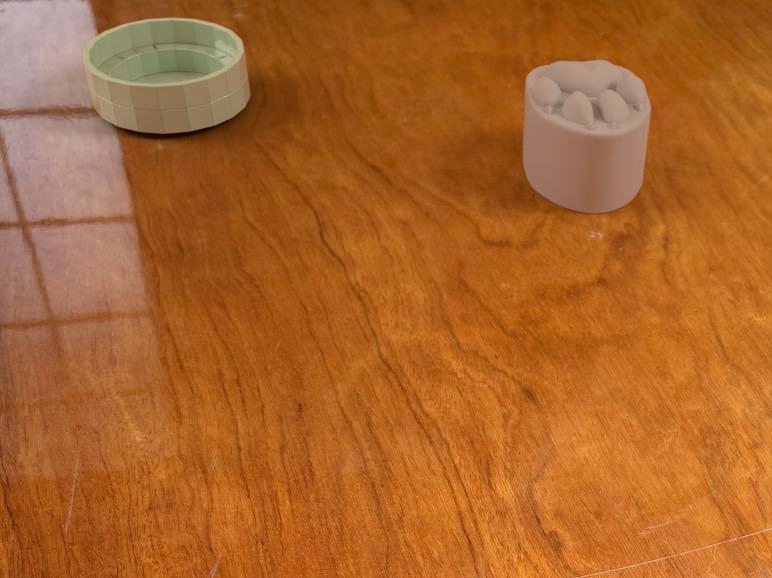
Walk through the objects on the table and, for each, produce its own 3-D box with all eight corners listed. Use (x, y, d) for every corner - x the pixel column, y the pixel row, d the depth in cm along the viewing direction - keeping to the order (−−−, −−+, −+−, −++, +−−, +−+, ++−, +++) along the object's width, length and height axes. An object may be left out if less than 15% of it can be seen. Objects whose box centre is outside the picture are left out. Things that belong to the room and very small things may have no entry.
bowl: (162, 156, 103) (151, 102, 100) (63, 103, 109) (49, 50, 105) (282, 101, 111) (275, 49, 108) (183, 55, 117) (174, 4, 113)
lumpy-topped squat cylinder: (625, 136, 109) (634, 45, 103) (656, 210, 101) (669, 115, 94) (515, 141, 108) (518, 48, 102) (538, 216, 99) (543, 119, 93)
